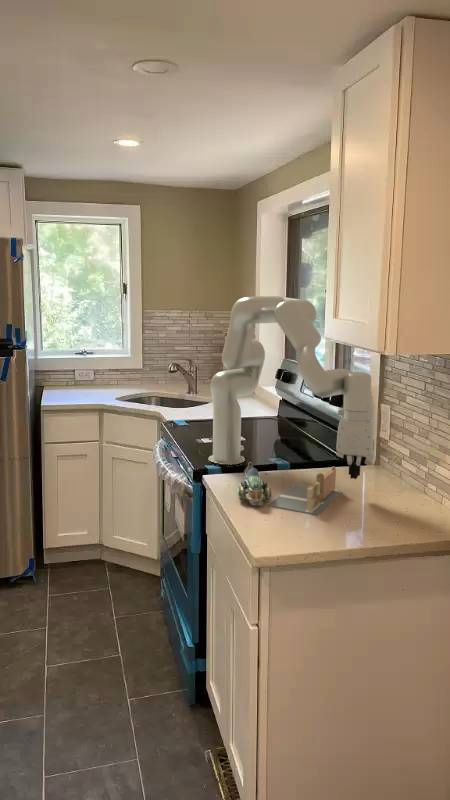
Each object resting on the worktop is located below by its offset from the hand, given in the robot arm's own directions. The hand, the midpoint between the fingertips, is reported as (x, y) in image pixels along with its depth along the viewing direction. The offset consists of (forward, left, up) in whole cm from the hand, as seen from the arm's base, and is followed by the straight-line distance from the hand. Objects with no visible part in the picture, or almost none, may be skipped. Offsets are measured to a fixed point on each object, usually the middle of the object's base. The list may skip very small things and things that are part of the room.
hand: (354, 477), depth 186 cm
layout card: (+8, -11, -6) cm, 15 cm away
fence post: (+14, -7, -6) cm, 16 cm away
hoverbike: (+11, -27, -7) cm, 30 cm away
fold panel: (+3, -7, -5) cm, 9 cm away
